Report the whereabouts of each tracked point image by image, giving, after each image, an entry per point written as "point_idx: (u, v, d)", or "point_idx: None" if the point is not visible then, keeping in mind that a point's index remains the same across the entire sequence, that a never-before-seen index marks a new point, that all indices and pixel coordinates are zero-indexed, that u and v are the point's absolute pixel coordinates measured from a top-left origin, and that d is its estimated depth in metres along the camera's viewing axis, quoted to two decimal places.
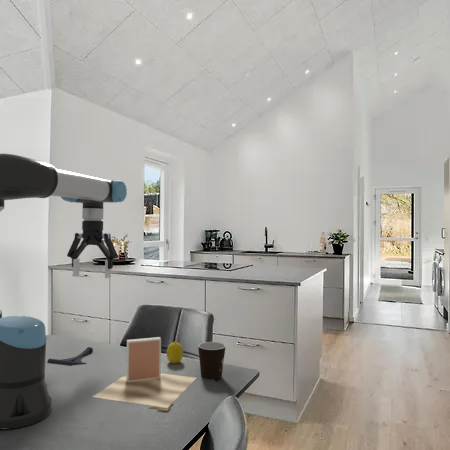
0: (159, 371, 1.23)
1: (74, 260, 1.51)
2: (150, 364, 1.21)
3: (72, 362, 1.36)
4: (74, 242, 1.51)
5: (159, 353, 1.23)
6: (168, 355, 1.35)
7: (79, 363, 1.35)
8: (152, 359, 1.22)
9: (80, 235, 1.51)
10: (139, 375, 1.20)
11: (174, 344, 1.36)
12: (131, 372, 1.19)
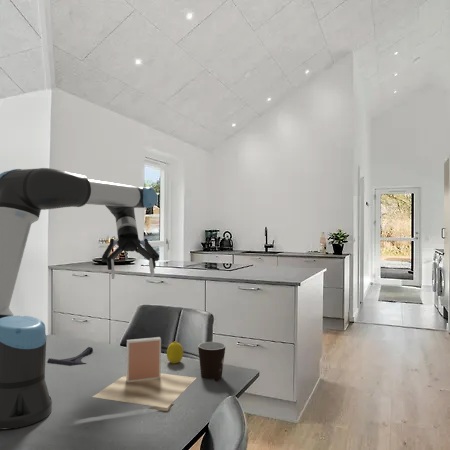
0: (159, 371, 1.23)
1: (112, 260, 1.40)
2: (150, 364, 1.21)
3: (72, 362, 1.36)
4: (110, 246, 1.44)
5: (159, 353, 1.23)
6: (168, 355, 1.35)
7: (79, 363, 1.35)
8: (152, 359, 1.22)
9: (115, 242, 1.47)
10: (139, 375, 1.20)
11: (174, 344, 1.36)
12: (131, 372, 1.19)
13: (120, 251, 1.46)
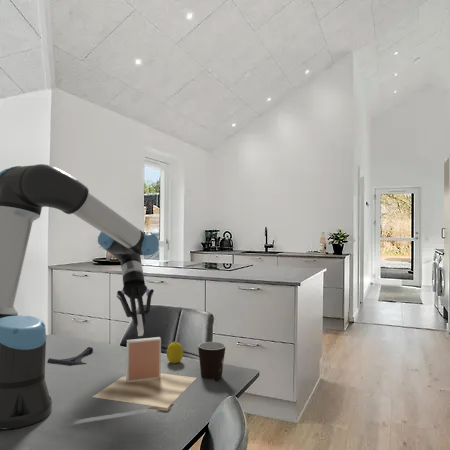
0: (159, 371, 1.23)
1: (138, 315, 1.34)
2: (150, 364, 1.21)
3: (72, 362, 1.36)
4: (124, 298, 1.37)
5: (159, 353, 1.23)
6: (168, 355, 1.35)
7: (79, 363, 1.35)
8: (152, 359, 1.22)
9: (122, 291, 1.40)
10: (139, 375, 1.20)
11: (174, 344, 1.36)
12: (131, 372, 1.19)
13: None
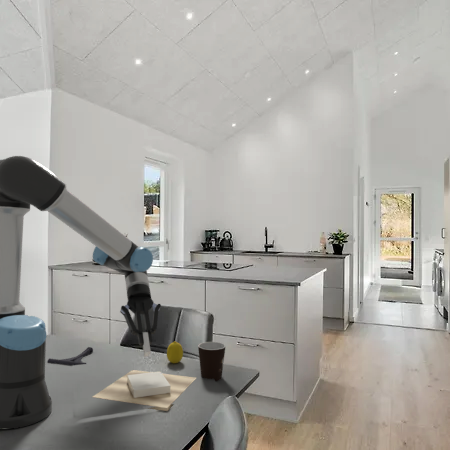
0: None
1: (144, 334, 1.21)
2: None
3: (72, 362, 1.36)
4: (128, 314, 1.24)
5: None
6: (168, 355, 1.35)
7: (79, 363, 1.35)
8: None
9: (126, 307, 1.27)
10: None
11: (174, 344, 1.36)
12: None
13: None
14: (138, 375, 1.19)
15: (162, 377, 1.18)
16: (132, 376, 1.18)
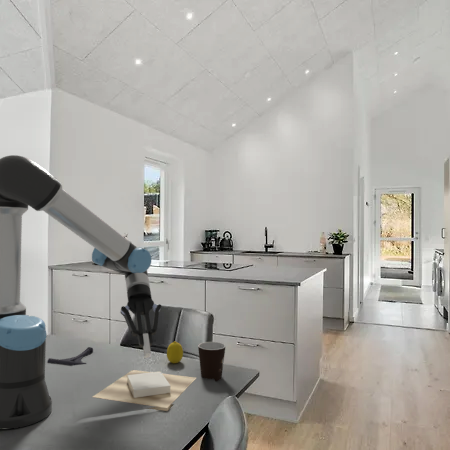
0: None
1: (144, 335, 1.20)
2: None
3: (72, 362, 1.36)
4: (128, 315, 1.23)
5: None
6: (168, 355, 1.35)
7: (79, 363, 1.35)
8: None
9: (126, 307, 1.26)
10: None
11: (174, 344, 1.36)
12: None
13: None
14: (138, 375, 1.19)
15: (162, 377, 1.18)
16: (132, 376, 1.18)
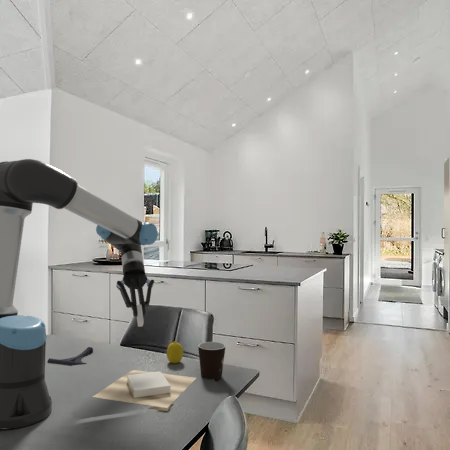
0: None
1: (138, 306, 1.30)
2: None
3: (72, 362, 1.36)
4: (123, 288, 1.34)
5: None
6: (168, 355, 1.35)
7: (79, 363, 1.35)
8: None
9: (122, 282, 1.36)
10: None
11: (174, 344, 1.36)
12: None
13: None
14: (138, 375, 1.19)
15: (162, 377, 1.18)
16: (132, 376, 1.18)
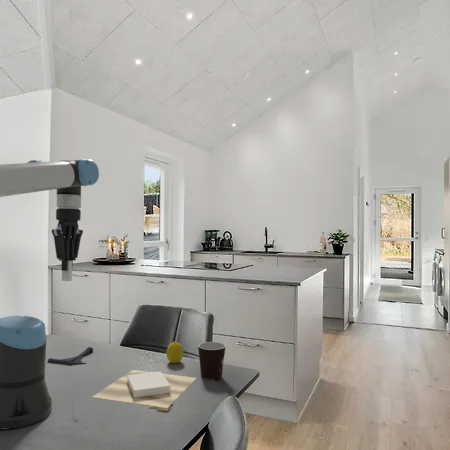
0: None
1: (69, 262, 1.31)
2: None
3: (72, 362, 1.36)
4: (62, 240, 1.27)
5: None
6: (168, 355, 1.35)
7: (79, 363, 1.35)
8: None
9: (60, 229, 1.27)
10: None
11: (174, 344, 1.36)
12: None
13: None
14: (138, 375, 1.19)
15: (162, 377, 1.18)
16: (132, 376, 1.18)
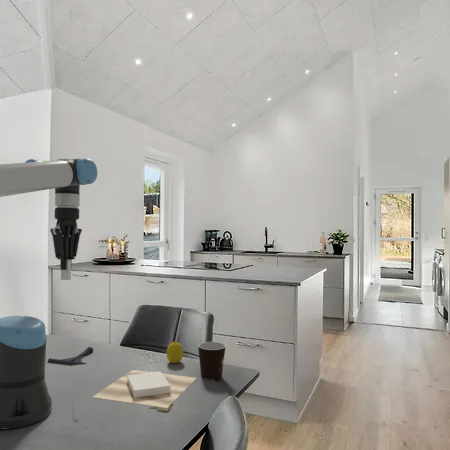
0: None
1: (68, 261, 1.30)
2: None
3: (72, 362, 1.36)
4: (60, 239, 1.27)
5: None
6: (168, 355, 1.35)
7: (79, 363, 1.35)
8: None
9: (58, 228, 1.27)
10: None
11: (174, 344, 1.36)
12: None
13: None
14: (138, 375, 1.19)
15: (162, 377, 1.18)
16: (132, 376, 1.18)
